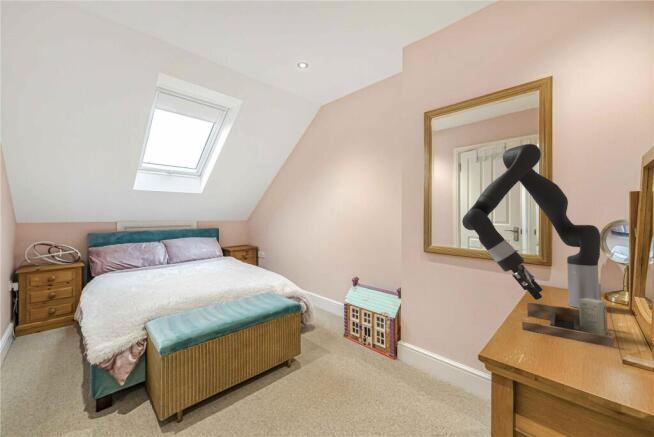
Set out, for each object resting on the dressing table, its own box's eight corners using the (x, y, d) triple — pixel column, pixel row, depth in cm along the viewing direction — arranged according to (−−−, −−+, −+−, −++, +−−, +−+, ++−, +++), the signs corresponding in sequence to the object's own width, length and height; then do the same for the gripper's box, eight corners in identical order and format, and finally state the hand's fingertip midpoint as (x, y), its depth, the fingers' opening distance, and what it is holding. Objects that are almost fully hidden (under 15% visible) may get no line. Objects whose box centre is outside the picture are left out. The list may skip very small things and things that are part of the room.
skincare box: (608, 334, 83) (607, 301, 83) (600, 337, 81) (599, 303, 81) (587, 328, 88) (586, 297, 88) (579, 330, 86) (578, 298, 86)
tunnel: (522, 329, 89) (522, 313, 89) (527, 315, 102) (527, 301, 102) (613, 347, 75) (613, 329, 75) (606, 328, 88) (605, 313, 89)
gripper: (513, 253, 92) (551, 295, 87) (516, 246, 103) (550, 284, 98) (492, 264, 96) (527, 306, 91) (498, 257, 107) (530, 294, 102)
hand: (539, 294), depth 94 cm, fingers open, 8 cm apart
